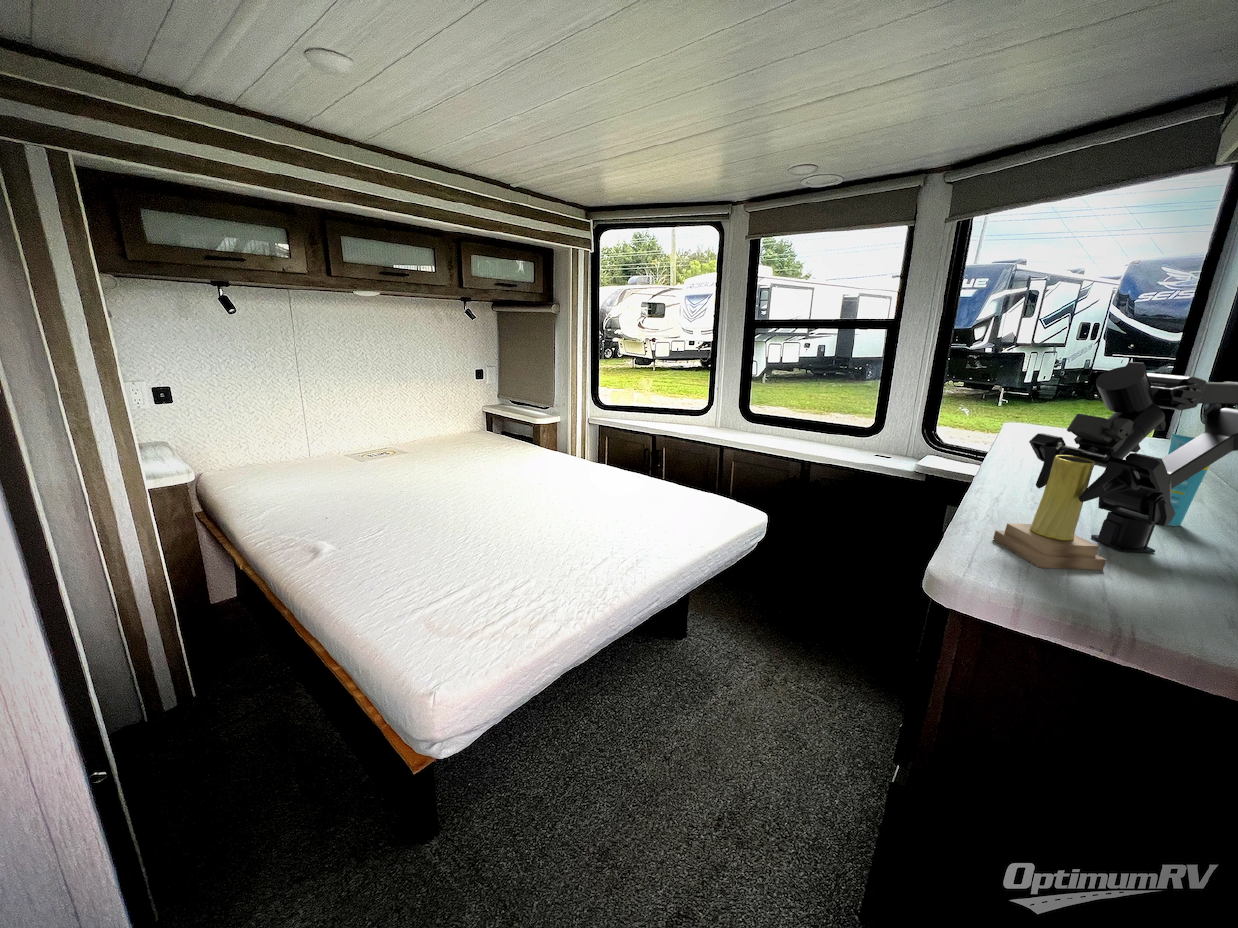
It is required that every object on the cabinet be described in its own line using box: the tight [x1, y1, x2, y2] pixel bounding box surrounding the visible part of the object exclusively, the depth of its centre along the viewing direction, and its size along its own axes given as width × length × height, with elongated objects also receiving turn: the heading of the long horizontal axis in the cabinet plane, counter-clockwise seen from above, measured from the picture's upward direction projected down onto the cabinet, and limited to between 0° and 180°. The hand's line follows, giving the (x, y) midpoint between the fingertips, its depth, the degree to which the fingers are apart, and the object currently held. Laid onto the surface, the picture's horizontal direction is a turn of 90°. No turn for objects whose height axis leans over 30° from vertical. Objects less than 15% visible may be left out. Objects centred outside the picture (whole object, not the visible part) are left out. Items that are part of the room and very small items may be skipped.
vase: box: [1030, 455, 1096, 541], centre depth 85 cm, size 6×6×14 cm
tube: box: [1167, 433, 1211, 527], centre depth 102 cm, size 7×5×19 cm, turn 23°
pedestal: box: [992, 522, 1107, 571], centre depth 88 cm, size 11×11×4 cm
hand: (1058, 493), depth 84 cm, fingers open, 7 cm apart
